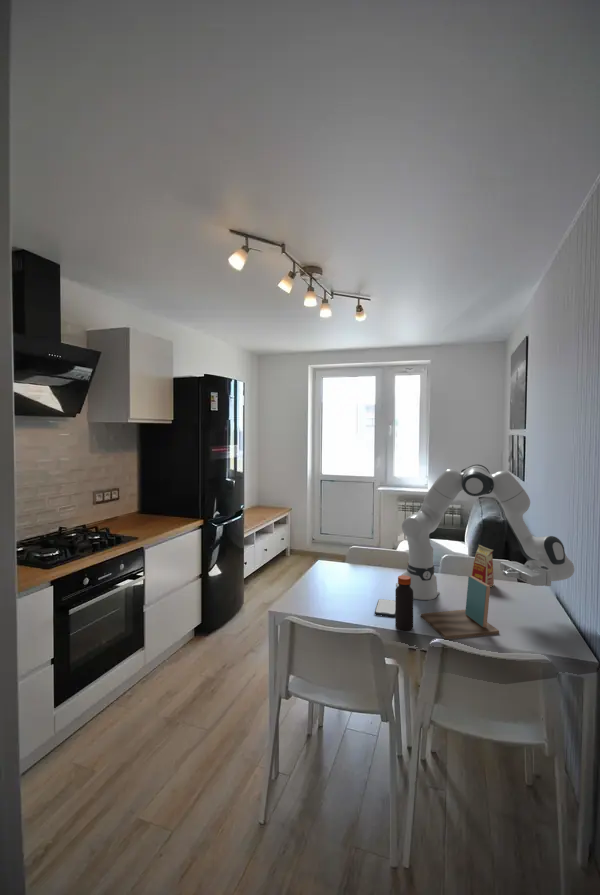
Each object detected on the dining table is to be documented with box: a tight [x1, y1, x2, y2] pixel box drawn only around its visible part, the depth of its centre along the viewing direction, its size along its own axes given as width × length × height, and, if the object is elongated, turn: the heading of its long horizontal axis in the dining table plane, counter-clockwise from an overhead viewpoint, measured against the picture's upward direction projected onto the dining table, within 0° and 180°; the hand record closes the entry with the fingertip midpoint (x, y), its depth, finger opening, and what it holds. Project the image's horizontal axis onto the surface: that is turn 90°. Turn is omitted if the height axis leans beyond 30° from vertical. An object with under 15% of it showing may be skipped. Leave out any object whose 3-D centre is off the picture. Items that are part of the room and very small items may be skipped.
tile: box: [465, 575, 491, 627], centre depth 170 cm, size 12×2×16 cm, turn 11°
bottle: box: [394, 574, 414, 632], centre depth 167 cm, size 7×7×20 cm
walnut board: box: [420, 608, 500, 640], centre depth 170 cm, size 20×22×1 cm
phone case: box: [374, 598, 395, 618], centre depth 185 cm, size 9×2×16 cm
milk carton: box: [470, 544, 495, 588], centre depth 212 cm, size 9×9×20 cm
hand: (504, 574), depth 172 cm, fingers closed
